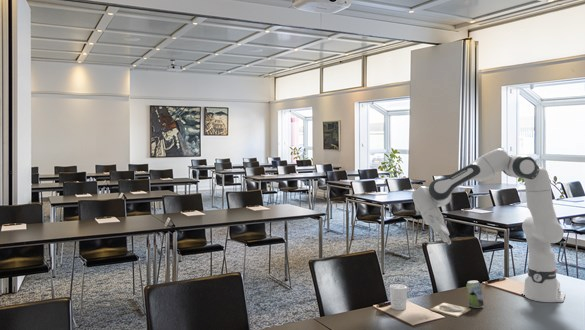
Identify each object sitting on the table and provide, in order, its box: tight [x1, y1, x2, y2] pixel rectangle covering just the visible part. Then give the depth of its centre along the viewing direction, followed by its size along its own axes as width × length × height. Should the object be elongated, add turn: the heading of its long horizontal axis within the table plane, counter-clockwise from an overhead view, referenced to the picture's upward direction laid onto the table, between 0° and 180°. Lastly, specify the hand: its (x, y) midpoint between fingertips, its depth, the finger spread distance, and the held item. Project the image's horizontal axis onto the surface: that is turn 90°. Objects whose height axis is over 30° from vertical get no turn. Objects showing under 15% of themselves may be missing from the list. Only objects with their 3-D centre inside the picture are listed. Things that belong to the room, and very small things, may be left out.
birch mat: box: [429, 302, 472, 318], centre depth 216 cm, size 13×13×1 cm
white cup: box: [389, 283, 408, 311], centre depth 220 cm, size 8×8×10 cm
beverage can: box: [466, 280, 484, 309], centre depth 221 cm, size 6×7×12 cm
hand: (447, 242), depth 226 cm, fingers open, 8 cm apart
